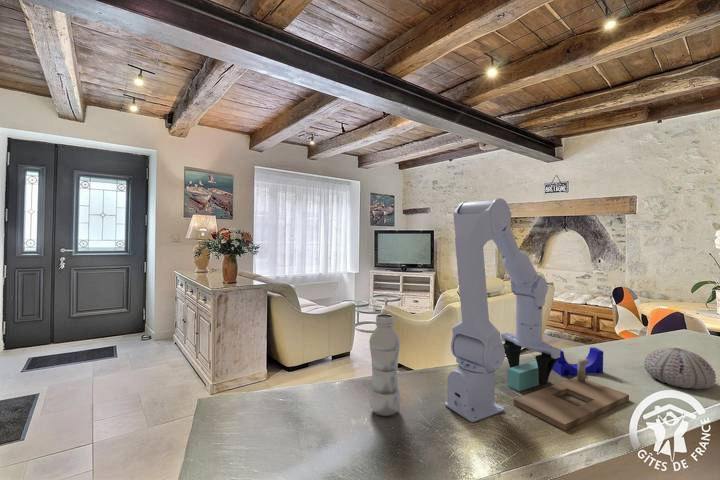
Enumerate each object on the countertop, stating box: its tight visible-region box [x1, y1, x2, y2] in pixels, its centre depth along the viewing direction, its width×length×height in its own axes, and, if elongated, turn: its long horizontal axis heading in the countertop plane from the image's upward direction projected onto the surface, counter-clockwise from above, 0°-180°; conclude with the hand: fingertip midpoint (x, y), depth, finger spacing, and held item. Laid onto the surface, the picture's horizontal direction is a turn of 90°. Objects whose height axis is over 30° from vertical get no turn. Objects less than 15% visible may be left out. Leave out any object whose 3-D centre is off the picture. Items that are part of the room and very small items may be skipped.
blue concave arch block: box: [551, 347, 604, 377], centre depth 90 cm, size 12×4×6 cm, turn 91°
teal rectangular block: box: [507, 359, 541, 392], centre depth 84 cm, size 11×3×4 cm, turn 118°
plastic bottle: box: [369, 313, 401, 417], centre depth 71 cm, size 6×7×20 cm
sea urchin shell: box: [643, 347, 717, 390], centre depth 85 cm, size 13×14×8 cm
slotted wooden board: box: [513, 358, 630, 431], centre depth 75 cm, size 25×11×6 cm, turn 119°
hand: (528, 377), depth 84 cm, fingers open, 7 cm apart
